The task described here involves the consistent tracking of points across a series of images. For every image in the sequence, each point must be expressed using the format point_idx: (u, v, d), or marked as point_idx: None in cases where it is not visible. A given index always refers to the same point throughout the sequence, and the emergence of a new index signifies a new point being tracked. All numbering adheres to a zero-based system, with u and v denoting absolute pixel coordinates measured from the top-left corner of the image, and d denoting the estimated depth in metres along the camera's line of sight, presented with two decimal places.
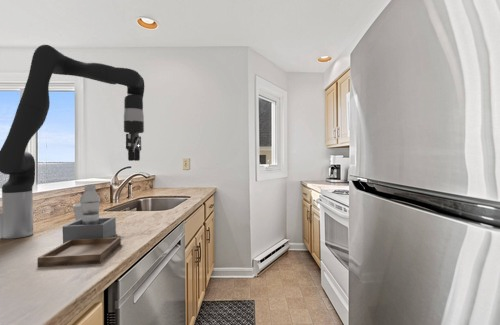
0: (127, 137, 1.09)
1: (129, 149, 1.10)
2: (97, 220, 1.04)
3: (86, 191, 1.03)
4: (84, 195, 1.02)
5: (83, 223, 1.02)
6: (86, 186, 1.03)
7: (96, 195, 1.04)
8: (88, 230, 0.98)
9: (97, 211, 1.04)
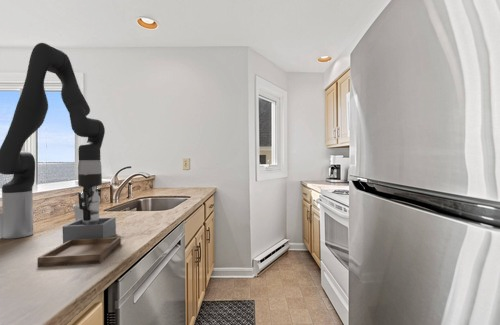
0: (80, 197, 0.98)
1: (83, 209, 0.99)
2: (97, 220, 1.04)
3: None
4: None
5: (83, 223, 1.02)
6: None
7: (96, 195, 1.04)
8: (88, 230, 0.98)
9: (97, 211, 1.04)
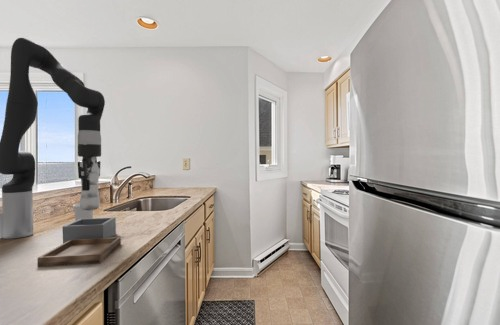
0: (79, 166, 0.98)
1: (83, 178, 0.99)
2: (96, 191, 1.04)
3: None
4: None
5: (82, 193, 1.02)
6: None
7: (96, 166, 1.04)
8: (88, 230, 0.98)
9: (96, 182, 1.04)
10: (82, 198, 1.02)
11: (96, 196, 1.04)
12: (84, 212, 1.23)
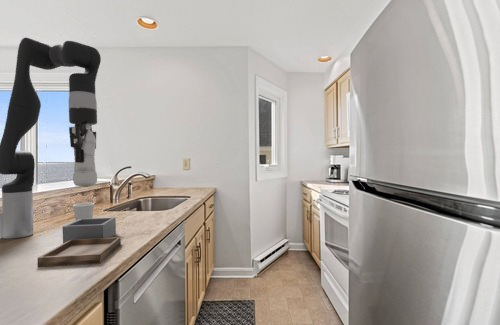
0: (71, 132, 0.82)
1: (76, 147, 0.83)
2: (92, 163, 0.89)
3: None
4: None
5: (76, 166, 0.86)
6: None
7: (91, 134, 0.88)
8: (88, 230, 0.98)
9: (92, 153, 0.89)
10: (76, 172, 0.86)
11: (92, 170, 0.88)
12: (84, 212, 1.23)
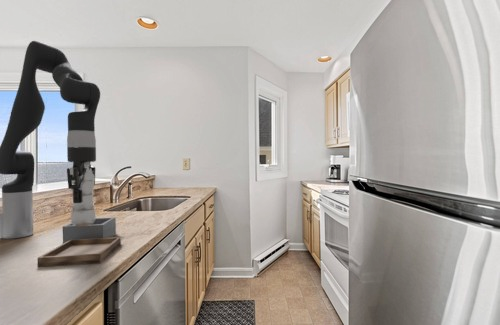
0: (69, 173, 0.81)
1: (73, 188, 0.82)
2: (91, 202, 0.87)
3: None
4: None
5: (74, 206, 0.85)
6: None
7: (90, 173, 0.87)
8: (88, 230, 0.98)
9: (91, 192, 0.87)
10: (74, 212, 0.85)
11: (91, 209, 0.87)
12: None
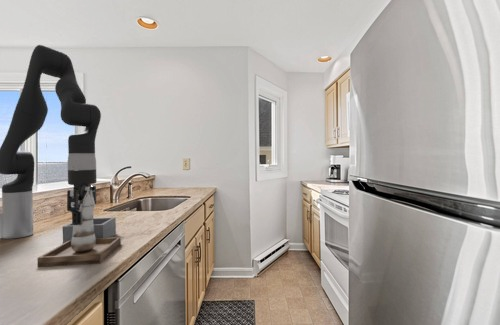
0: (69, 195, 0.80)
1: (72, 211, 0.81)
2: (91, 227, 0.87)
3: None
4: None
5: (74, 232, 0.85)
6: None
7: (90, 198, 0.87)
8: None
9: (91, 217, 0.87)
10: (74, 238, 0.85)
11: (91, 234, 0.87)
12: None
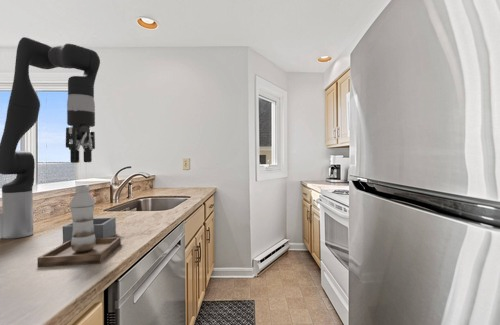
0: (67, 132, 0.83)
1: (71, 148, 0.84)
2: (91, 228, 0.87)
3: (77, 193, 0.85)
4: (75, 198, 0.85)
5: (74, 232, 0.85)
6: (77, 187, 0.85)
7: (90, 198, 0.87)
8: None
9: (91, 217, 0.87)
10: (74, 238, 0.85)
11: (91, 234, 0.87)
12: None
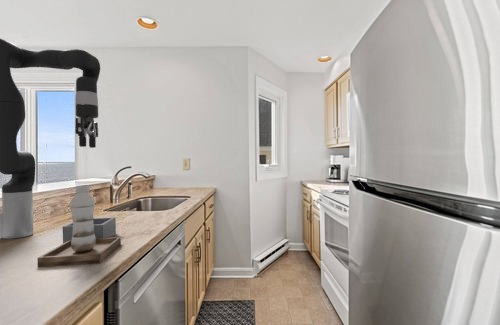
0: (77, 121, 1.03)
1: (79, 134, 1.04)
2: (91, 227, 0.87)
3: (78, 193, 0.86)
4: (75, 198, 0.85)
5: (74, 232, 0.85)
6: (78, 187, 0.86)
7: (90, 198, 0.87)
8: None
9: (91, 217, 0.87)
10: (74, 238, 0.85)
11: (91, 234, 0.87)
12: None
